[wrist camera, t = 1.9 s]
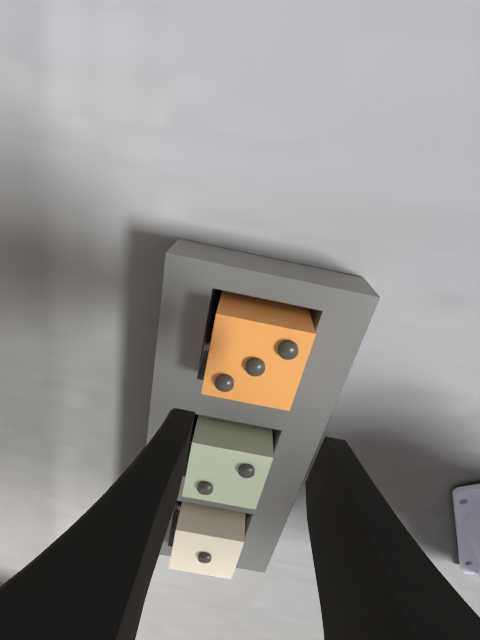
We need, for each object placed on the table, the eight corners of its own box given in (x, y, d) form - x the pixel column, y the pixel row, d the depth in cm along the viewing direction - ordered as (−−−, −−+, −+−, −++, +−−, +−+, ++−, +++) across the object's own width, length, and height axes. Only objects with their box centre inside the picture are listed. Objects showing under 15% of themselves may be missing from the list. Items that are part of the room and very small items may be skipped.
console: (264, 535, 26) (264, 572, 23) (146, 514, 25) (135, 550, 23) (363, 277, 16) (379, 297, 14) (178, 238, 16) (165, 252, 14)
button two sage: (256, 463, 21) (255, 513, 18) (192, 451, 21) (181, 499, 18) (271, 414, 19) (273, 461, 16) (201, 401, 19) (191, 445, 16)
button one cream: (234, 531, 24) (231, 583, 21) (178, 521, 24) (167, 572, 21) (246, 495, 22) (244, 545, 19) (186, 483, 22) (174, 533, 19)
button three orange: (285, 371, 18) (289, 414, 15) (210, 357, 18) (200, 396, 15) (306, 303, 16) (316, 336, 13) (223, 286, 16) (215, 316, 13)
